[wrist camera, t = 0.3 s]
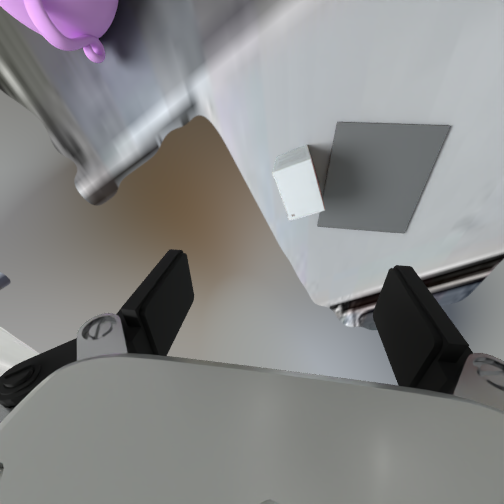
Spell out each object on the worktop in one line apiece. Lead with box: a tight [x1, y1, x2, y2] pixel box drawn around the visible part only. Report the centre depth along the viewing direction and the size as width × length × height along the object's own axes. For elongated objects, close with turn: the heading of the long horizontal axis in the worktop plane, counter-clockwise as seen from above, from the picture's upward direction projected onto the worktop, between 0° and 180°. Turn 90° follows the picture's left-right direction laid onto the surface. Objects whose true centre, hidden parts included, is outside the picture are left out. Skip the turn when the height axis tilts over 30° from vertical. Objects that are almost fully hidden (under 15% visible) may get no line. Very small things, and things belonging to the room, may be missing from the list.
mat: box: [317, 122, 450, 233], centre depth 41 cm, size 18×16×1 cm
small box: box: [272, 145, 325, 221], centre depth 38 cm, size 8×6×10 cm
